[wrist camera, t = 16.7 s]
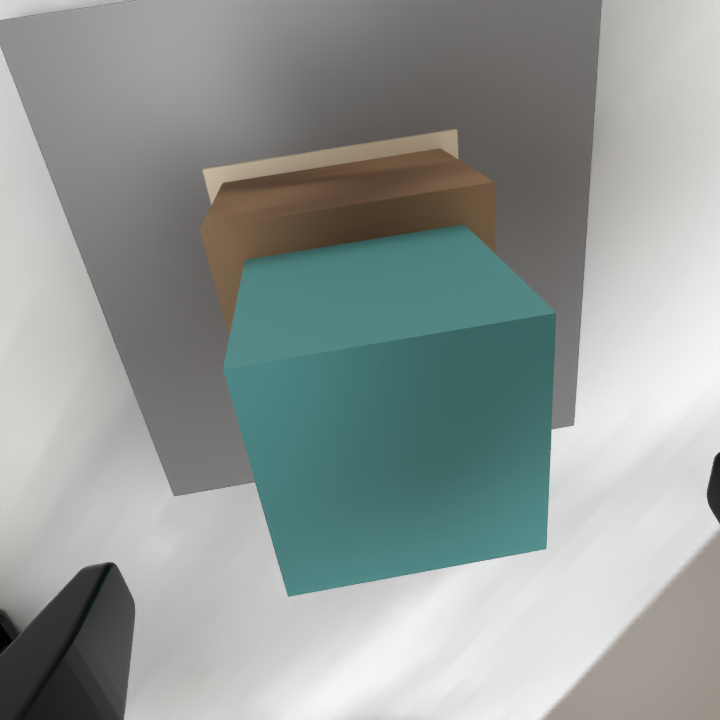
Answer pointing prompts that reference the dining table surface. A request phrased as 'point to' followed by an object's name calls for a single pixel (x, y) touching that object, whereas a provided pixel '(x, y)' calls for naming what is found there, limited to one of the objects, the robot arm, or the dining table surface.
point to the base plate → (294, 157)
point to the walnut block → (341, 210)
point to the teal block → (393, 406)
